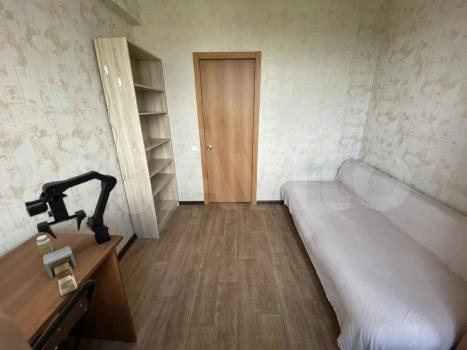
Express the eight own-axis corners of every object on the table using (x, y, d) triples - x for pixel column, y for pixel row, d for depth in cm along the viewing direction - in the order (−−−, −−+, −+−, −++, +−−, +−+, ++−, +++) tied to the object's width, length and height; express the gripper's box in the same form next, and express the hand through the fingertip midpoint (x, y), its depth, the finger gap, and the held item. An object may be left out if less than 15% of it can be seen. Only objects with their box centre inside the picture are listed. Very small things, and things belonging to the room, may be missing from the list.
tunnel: (74, 258, 104) (69, 245, 101) (77, 266, 98) (72, 252, 96) (48, 269, 97) (42, 256, 94) (50, 278, 92) (44, 264, 89)
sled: (70, 267, 97) (67, 257, 95) (78, 288, 86) (73, 277, 84) (56, 274, 94) (52, 263, 92) (61, 297, 82) (56, 285, 80)
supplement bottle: (51, 254, 107) (44, 239, 104) (38, 256, 106) (32, 241, 103) (56, 247, 112) (50, 233, 109) (44, 250, 111) (38, 235, 108)
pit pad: (72, 253, 107) (71, 252, 107) (72, 255, 106) (72, 255, 106) (47, 263, 101) (47, 263, 101) (47, 266, 99) (47, 265, 99)
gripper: (78, 196, 109) (85, 221, 115) (31, 209, 97) (42, 236, 102) (82, 202, 102) (90, 229, 107) (32, 217, 90) (44, 246, 95)
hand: (68, 234), depth 103 cm, fingers open, 9 cm apart
